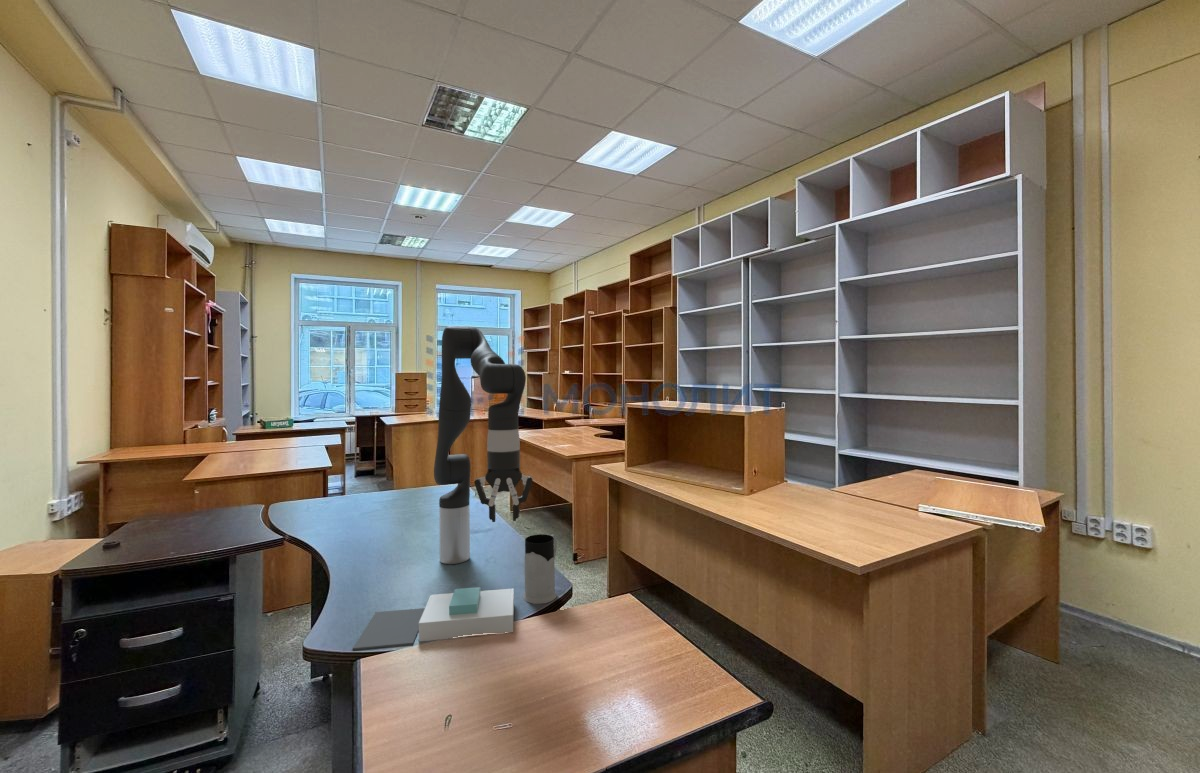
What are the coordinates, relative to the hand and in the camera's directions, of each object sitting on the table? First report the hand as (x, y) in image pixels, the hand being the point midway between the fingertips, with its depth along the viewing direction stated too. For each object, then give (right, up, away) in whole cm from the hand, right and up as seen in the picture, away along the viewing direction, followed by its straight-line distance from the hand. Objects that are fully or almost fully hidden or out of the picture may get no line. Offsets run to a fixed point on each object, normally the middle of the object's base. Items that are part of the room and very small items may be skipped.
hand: (504, 520), depth 112 cm
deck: (-8, -23, -1) cm, 25 cm away
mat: (-25, -23, -4) cm, 34 cm away
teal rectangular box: (-9, -19, -1) cm, 21 cm away
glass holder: (+8, -23, +14) cm, 29 cm away
